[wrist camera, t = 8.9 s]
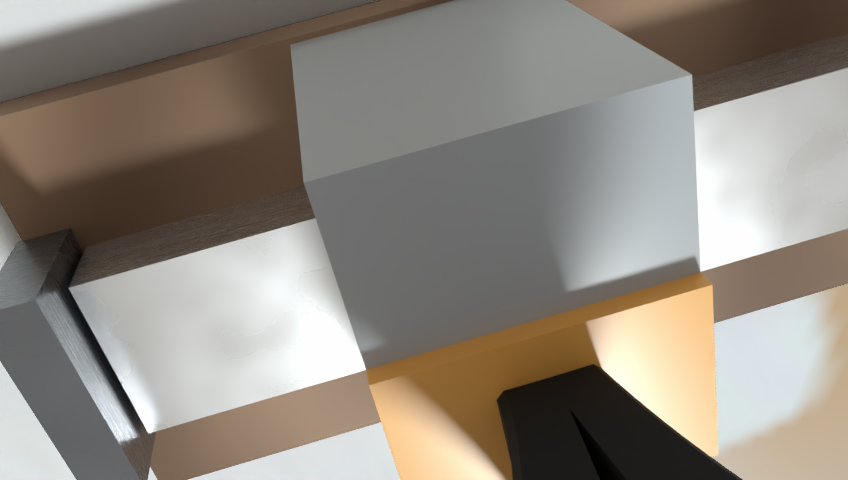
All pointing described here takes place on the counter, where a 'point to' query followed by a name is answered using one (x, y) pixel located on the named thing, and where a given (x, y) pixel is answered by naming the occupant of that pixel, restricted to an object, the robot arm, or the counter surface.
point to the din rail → (316, 284)
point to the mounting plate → (282, 170)
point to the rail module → (506, 219)
